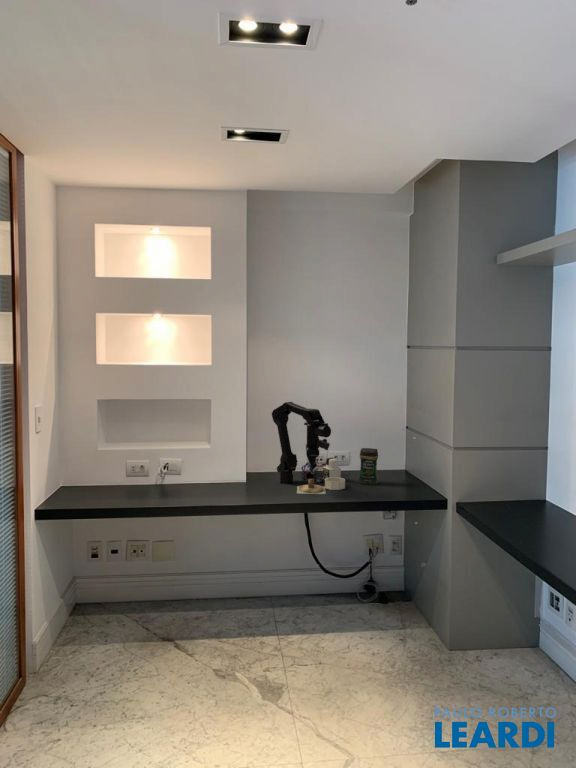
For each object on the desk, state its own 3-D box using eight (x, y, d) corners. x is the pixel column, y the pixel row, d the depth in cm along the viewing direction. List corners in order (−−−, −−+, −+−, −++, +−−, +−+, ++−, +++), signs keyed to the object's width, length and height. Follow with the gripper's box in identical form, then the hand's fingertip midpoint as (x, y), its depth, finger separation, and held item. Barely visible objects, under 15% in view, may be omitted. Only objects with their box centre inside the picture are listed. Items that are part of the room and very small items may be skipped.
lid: (298, 492, 281) (298, 482, 281) (299, 486, 293) (299, 476, 293) (323, 493, 281) (323, 482, 280) (323, 486, 293) (323, 476, 292)
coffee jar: (358, 484, 300) (358, 449, 299) (360, 480, 308) (360, 446, 307) (376, 485, 298) (377, 450, 296) (378, 482, 305) (379, 447, 304)
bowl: (325, 490, 288) (325, 481, 287) (324, 485, 298) (324, 477, 297) (345, 490, 287) (345, 482, 287) (344, 485, 297) (344, 477, 297)
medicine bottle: (322, 479, 310) (322, 457, 309) (334, 478, 313) (334, 456, 312) (329, 482, 304) (329, 460, 303) (340, 481, 307) (341, 459, 306)
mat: (296, 494, 280) (296, 493, 280) (297, 487, 294) (297, 486, 294) (325, 494, 280) (325, 493, 280) (324, 487, 294) (324, 486, 294)
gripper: (329, 438, 276) (329, 470, 277) (327, 431, 294) (327, 462, 296) (306, 438, 276) (306, 470, 277) (306, 431, 295) (305, 461, 296)
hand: (312, 466), depth 287 cm, fingers open, 9 cm apart
